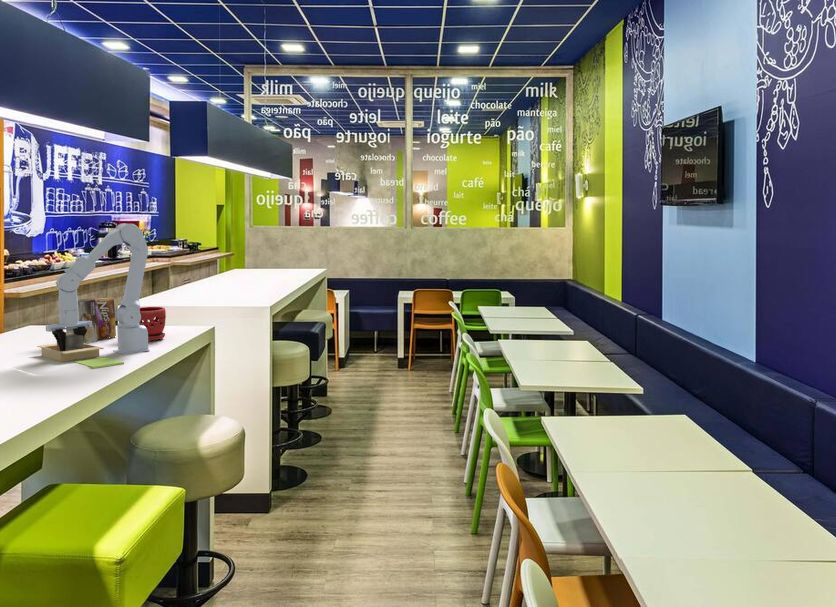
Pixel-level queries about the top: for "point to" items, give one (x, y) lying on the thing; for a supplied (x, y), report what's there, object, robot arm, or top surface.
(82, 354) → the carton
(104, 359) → the mat
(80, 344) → the box
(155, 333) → the plant pot
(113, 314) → the candy box
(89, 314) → the coffee box
